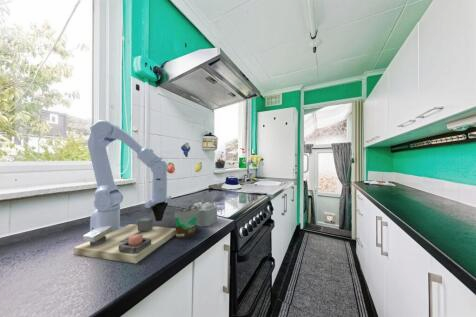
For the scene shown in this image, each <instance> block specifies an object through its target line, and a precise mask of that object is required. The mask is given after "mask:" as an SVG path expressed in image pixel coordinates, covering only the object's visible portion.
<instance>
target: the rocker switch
mask: <svg viewBox="0 0 476 317" xmlns="http://www.w3.org/2000/svg"><path fill="white" fill-rule="evenodd" d="M112 231H113V230H112V226H103V225H102V226H100V227H98V228H97V229H95V230H93V231H91V232H90V231H88V232H89V233H88V232H87V233H85V234H83V235H82V239H83V241H85V242H88V241H90V242H95V241H97V240H98V239H100V238H102V237H103V236H105V235H107V234H108V233H110V232H112Z"/></svg>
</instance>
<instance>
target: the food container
mask: <svg viewBox="0 0 476 317" xmlns="http://www.w3.org/2000/svg"><path fill="white" fill-rule="evenodd" d="M198 213H199V209H198V207H197V206H196V205H194V204H189V206H188V207H185V208H183V209H181V210H180V211H174V217H173V218H174V219H175V222H174V224H175V228H176V235H175V238H176V239H186V238H190V237H192V236H194V235H195V234H196V232H197V231H196V230H197V226H196V221H197V214H198Z"/></svg>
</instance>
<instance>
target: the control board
mask: <svg viewBox="0 0 476 317" xmlns="http://www.w3.org/2000/svg"><path fill="white" fill-rule="evenodd" d="M120 227H121V228H119V229H117V230H114V231H112V232H110V233H108V234H107V235H105V236H103V237H102V238H100V239H98V240H97V241H95V242H90V241H85V242H83V243H81V244H79V245H76V246H74V247H73V252H72V253H73V255H75V256H81V257H82V256H83V257H91V258H94V259H95V258H96V259H102V260H109V261H117V262H123V263H131V264H138V263H139V262H140V261H142V260H143V259H144V258H146V257H147V256H148V255H150V254H151V253H153V252H154V251H155V250H157V249H158V248H159V247H161V246H162V245H163V244H165V243H166V242H168V241H169V240H170V239H172V238H173V237H174V236H176V227H164V226H156V225H155V226H153V228H152V229H151V230H149V231H138V224H133V223H130V224H129V223H128V224H126V225H123V226H120ZM136 234H142V235H143V240H142V243H141V244H140V245H138V246H136V247H135V246H128V245H129V237H130V236H132V235H136Z"/></svg>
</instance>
